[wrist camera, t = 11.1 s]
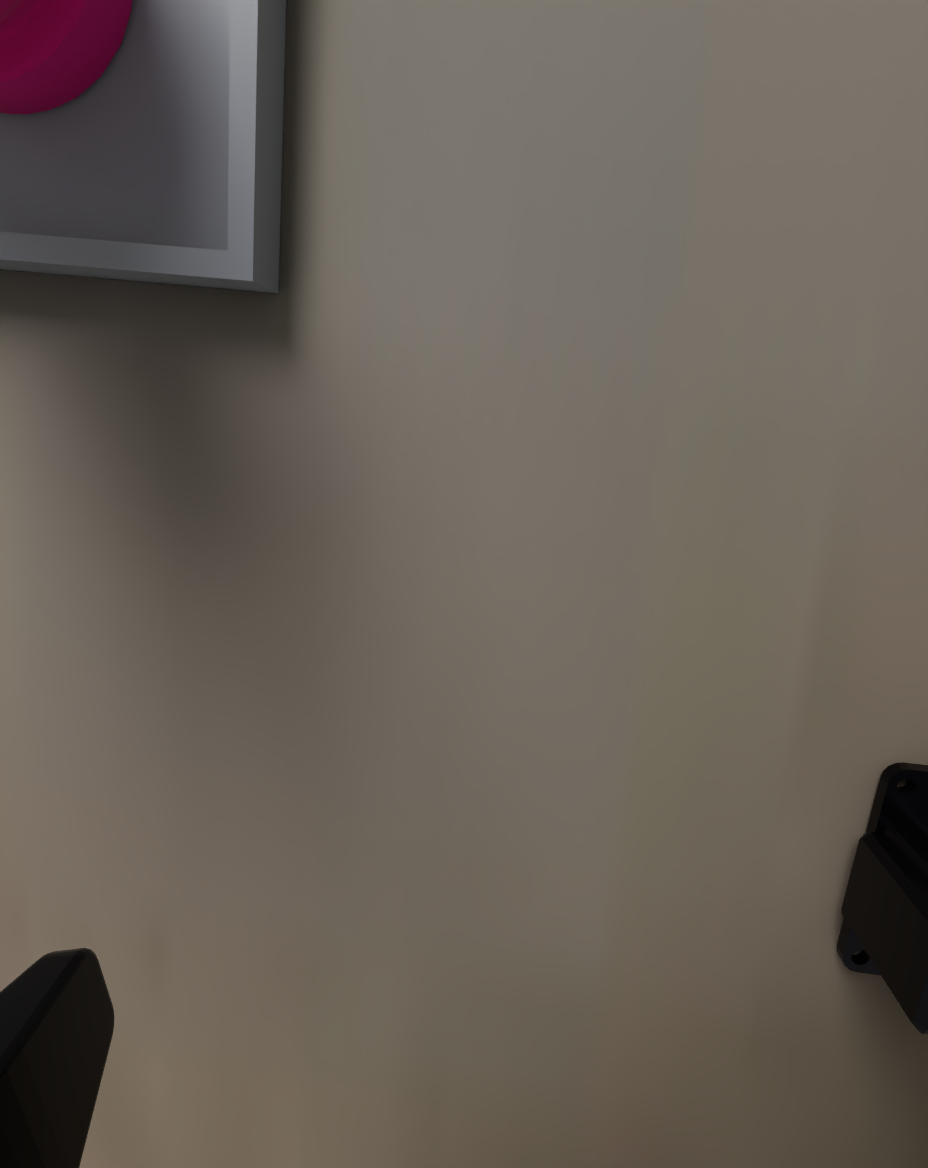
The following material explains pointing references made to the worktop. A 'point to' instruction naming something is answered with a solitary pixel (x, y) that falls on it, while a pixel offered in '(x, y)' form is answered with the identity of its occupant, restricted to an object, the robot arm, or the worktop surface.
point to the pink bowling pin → (55, 49)
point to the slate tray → (158, 156)
